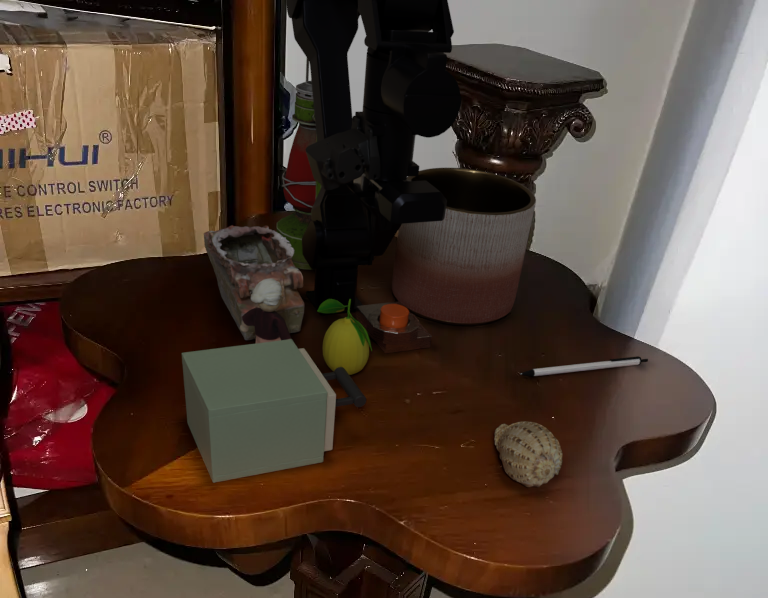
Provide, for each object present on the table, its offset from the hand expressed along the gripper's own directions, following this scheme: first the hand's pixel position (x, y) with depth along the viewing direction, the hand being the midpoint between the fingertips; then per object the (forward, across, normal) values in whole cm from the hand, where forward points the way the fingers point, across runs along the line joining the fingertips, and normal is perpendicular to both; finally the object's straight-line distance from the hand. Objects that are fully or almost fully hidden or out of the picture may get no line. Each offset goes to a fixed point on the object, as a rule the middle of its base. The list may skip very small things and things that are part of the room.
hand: (376, 254), depth 89 cm
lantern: (+13, -30, +3) cm, 33 cm away
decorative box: (+13, -15, -12) cm, 23 cm away
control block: (+13, -4, +6) cm, 15 cm away
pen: (+13, +11, +26) cm, 31 cm away
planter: (+13, -11, +18) cm, 25 cm away
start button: (+10, -2, +4) cm, 11 cm away
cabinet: (+13, +14, -19) cm, 27 cm away
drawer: (+12, +14, -15) cm, 24 cm away
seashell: (+13, +26, +7) cm, 30 cm away
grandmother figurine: (+13, +3, -14) cm, 19 cm away
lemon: (+13, +4, -5) cm, 15 cm away
